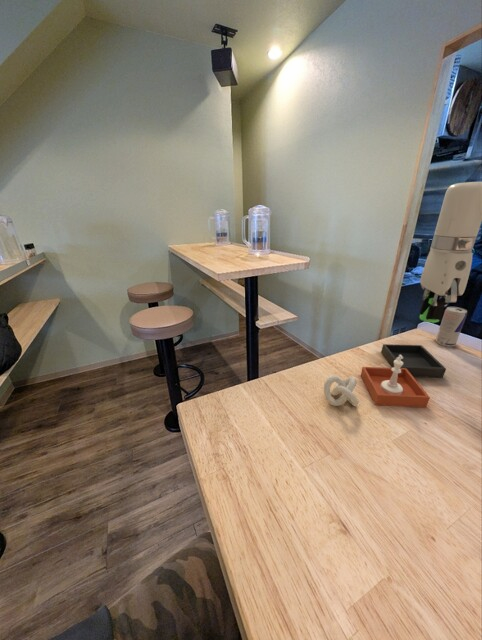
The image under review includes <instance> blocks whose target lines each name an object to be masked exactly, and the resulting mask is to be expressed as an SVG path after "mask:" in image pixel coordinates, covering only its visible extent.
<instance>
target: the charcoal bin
mask: <svg viewBox="0 0 482 640" xmlns="http://www.w3.org/2000/svg"><path fill="white" fill-rule="evenodd" d="M380 353H381V354H382V356H383V357H384V359H386V361H387V363H388V364H389V365H390V368H393V367H394V360H396V358H397V357H399V355H402V357H403V359H401V361H402V362H403V365H402V366H401V367H400V368H407V370H408V371H409V372H410V373H411V375H412V376H413V377H414V378H434V379H436V378H437V379H443V378H444V376H445V373H446V370H447V368H446V367H445V366H444V365H443V364H442V363H441V362H440V361H439V360H438V359H437V358H436V357H434V355H432V353H430V352H429V351H428V349H426V348H425V347H424V346H423V345H422V344H388V343H387V344H386V343H383V344H382V346H381V351H380Z"/></svg>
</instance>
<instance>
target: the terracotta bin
mask: <svg viewBox="0 0 482 640" xmlns="http://www.w3.org/2000/svg"><path fill="white" fill-rule="evenodd" d="M391 369H392V367H385V366H384V367H381V366H380V367H379V366H362V367H361V371H360V377H361V379H362V381H363V383H364V385H365V387H366V389H367V391H368V393H369V395H370V397H371V399H372V401H373V403H374V404H375V406H390V407H408V408H427V407H428V405H429V401H430V399H431V397H430V396H429V395H428V393H427V392H426V391H425V390H424V388H423V387H422V386H421V384H420V383H419V382H418V381H417V379H416V377H413V376H412V375H411V373H410V372H409V371H408V370H407V368H400V370H401V373H398V377H397V383H398V384H400V385H401V386H402V388H403V392H402V394H400V395H399V394H389V393H387V392H385V391H384V390H382V388H381V386H380V385H381V383H382V382H383V381H385V380H390V379H391V376H392V374H393V371H392V370H391Z"/></svg>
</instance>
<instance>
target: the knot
mask: <svg viewBox="0 0 482 640" xmlns="http://www.w3.org/2000/svg"><path fill="white" fill-rule="evenodd" d="M333 383H336V384H337V385H336V386H335V387H334V388H333V389H332V391H331V387H332V385H333ZM356 385H357V379H356V378H355V377H354V376H349V377H347V378H345V379H344V380H343V379H342V378H341V377H339V376H338V375H331V376H329V377H328V378H327V379H325V382H324V384H323V394H324V397H325V399H326V401H327V403H329V404H330V405H331V406H335V407H339V406H341V405H344V404H345V403H346V402H347V401H348V402H349V403H350V404H351V405H352V406H354V407H357V406H358V405H359V403H360V402H359V399H358V398H357V396H356V395H355V393H353V391H354V389H355V387H356ZM331 393H332V394H331ZM340 393H341V395H340V397H339V398H337V399H335V398H334V397H333V396H338V395H339V394H340ZM332 395H333V396H332Z"/></svg>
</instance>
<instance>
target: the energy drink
mask: <svg viewBox="0 0 482 640" xmlns="http://www.w3.org/2000/svg"><path fill="white" fill-rule="evenodd" d="M467 316H468V310H467V309H465V308H463V307H460V306H459V307H458V306H448V307H447V306H446V308H445V309H444V312H443V315H442V318H441V322H440V325H439V328H438V332H437V334H436V337H435V342H436V343H437V345H440V346H442V347H446V348H452V347H455V346H456V345H457V342H458V341H459V337H460V334H461V331H462V330H463V326H464V324H465V321H466V319H467Z"/></svg>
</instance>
